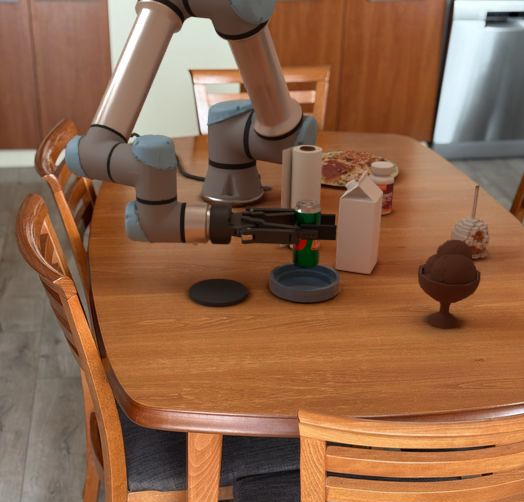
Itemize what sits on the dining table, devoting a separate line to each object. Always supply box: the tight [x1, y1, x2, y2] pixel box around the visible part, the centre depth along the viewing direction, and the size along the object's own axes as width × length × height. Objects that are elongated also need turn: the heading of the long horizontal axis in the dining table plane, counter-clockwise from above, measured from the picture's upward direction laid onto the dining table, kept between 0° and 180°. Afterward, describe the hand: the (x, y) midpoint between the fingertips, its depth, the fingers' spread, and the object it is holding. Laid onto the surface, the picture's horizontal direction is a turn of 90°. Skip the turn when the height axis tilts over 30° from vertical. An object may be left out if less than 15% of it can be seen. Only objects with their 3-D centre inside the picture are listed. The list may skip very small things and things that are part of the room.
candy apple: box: [449, 184, 491, 260], centre depth 178 cm, size 8×8×15 cm
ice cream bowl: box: [417, 239, 482, 329], centre depth 150 cm, size 11×11×15 cm
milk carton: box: [334, 170, 383, 275], centre depth 170 cm, size 7×7×19 cm
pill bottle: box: [368, 162, 395, 216], centre depth 202 cm, size 6×6×11 cm
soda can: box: [291, 200, 323, 269], centre depth 159 cm, size 5×5×12 cm
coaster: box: [188, 278, 248, 308], centre depth 162 cm, size 11×11×1 cm
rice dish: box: [321, 148, 400, 187], centre depth 229 cm, size 28×28×5 cm
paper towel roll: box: [279, 145, 323, 250], centre depth 179 cm, size 7×6×21 cm
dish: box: [268, 262, 342, 303], centre depth 164 cm, size 13×13×3 cm
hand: (335, 227), depth 158 cm, fingers closed on soda can, 5 cm apart
